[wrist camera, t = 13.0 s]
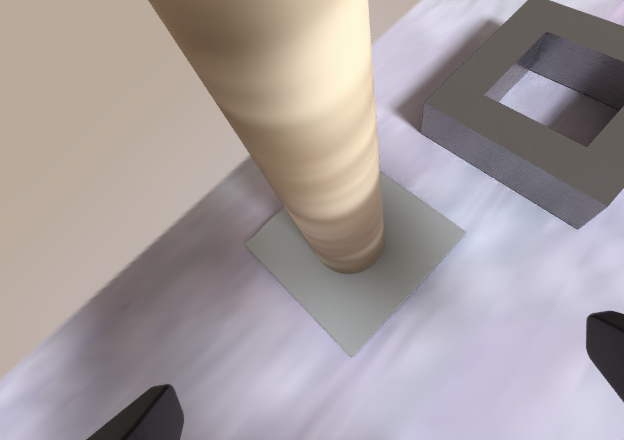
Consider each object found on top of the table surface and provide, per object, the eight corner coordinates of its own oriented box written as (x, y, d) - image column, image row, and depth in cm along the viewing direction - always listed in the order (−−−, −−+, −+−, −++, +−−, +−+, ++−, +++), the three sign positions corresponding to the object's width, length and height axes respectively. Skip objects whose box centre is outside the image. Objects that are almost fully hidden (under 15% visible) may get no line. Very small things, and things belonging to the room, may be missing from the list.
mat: (464, 235, 17) (466, 232, 17) (352, 358, 16) (350, 357, 16) (346, 151, 21) (345, 146, 20) (247, 247, 19) (244, 244, 19)
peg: (394, 217, 18) (392, -153, 5) (371, 284, 17) (302, 17, 4) (328, 200, 19) (200, -136, 6) (303, 261, 18) (91, -1, 5)
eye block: (686, 102, 17) (729, 62, 15) (578, 229, 16) (607, 206, 14) (518, 34, 21) (533, -6, 19) (420, 132, 20) (424, 102, 18)
